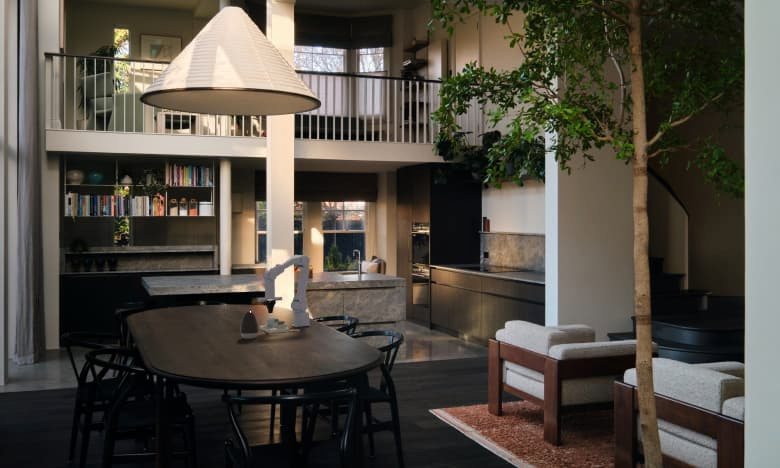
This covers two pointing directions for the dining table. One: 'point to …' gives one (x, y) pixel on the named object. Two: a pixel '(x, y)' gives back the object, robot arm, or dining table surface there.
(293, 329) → the coaster
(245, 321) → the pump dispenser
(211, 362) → the dining table surface
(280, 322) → the plunger
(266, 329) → the housing
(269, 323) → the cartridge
